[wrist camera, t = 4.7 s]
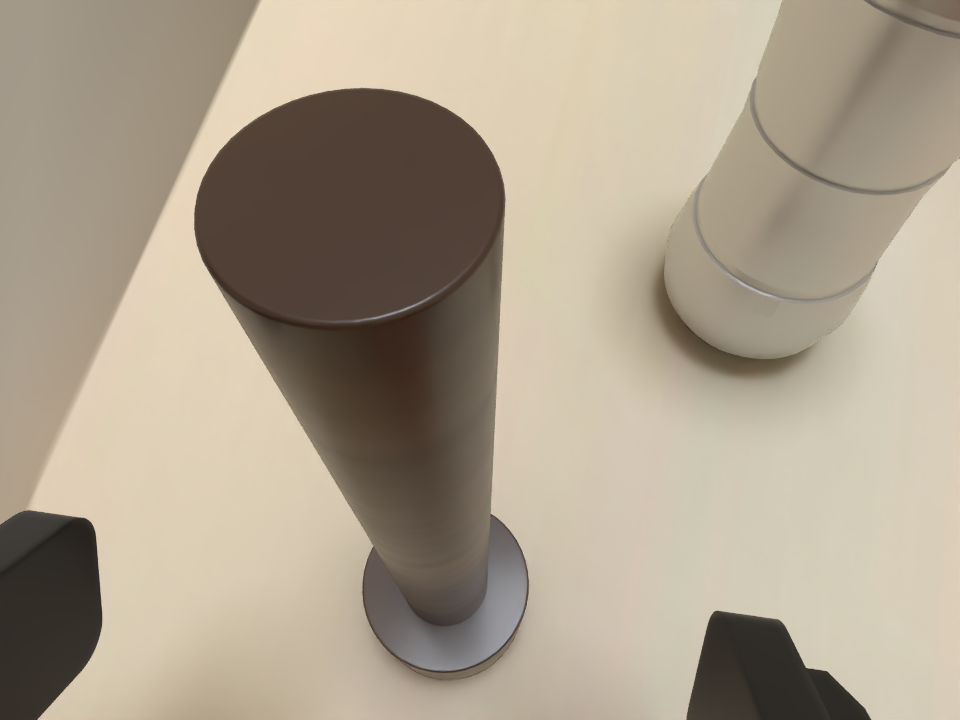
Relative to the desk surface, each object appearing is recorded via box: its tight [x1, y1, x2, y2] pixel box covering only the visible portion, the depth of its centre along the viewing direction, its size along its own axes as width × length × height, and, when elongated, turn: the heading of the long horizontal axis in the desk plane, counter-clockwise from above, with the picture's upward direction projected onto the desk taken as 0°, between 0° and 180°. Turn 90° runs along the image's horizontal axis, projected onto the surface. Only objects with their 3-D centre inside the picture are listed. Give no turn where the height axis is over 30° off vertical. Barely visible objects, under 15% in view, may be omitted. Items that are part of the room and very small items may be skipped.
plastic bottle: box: [664, 0, 960, 359], centre depth 17 cm, size 6×7×20 cm
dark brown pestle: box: [194, 88, 529, 680], centre depth 13 cm, size 4×4×18 cm
